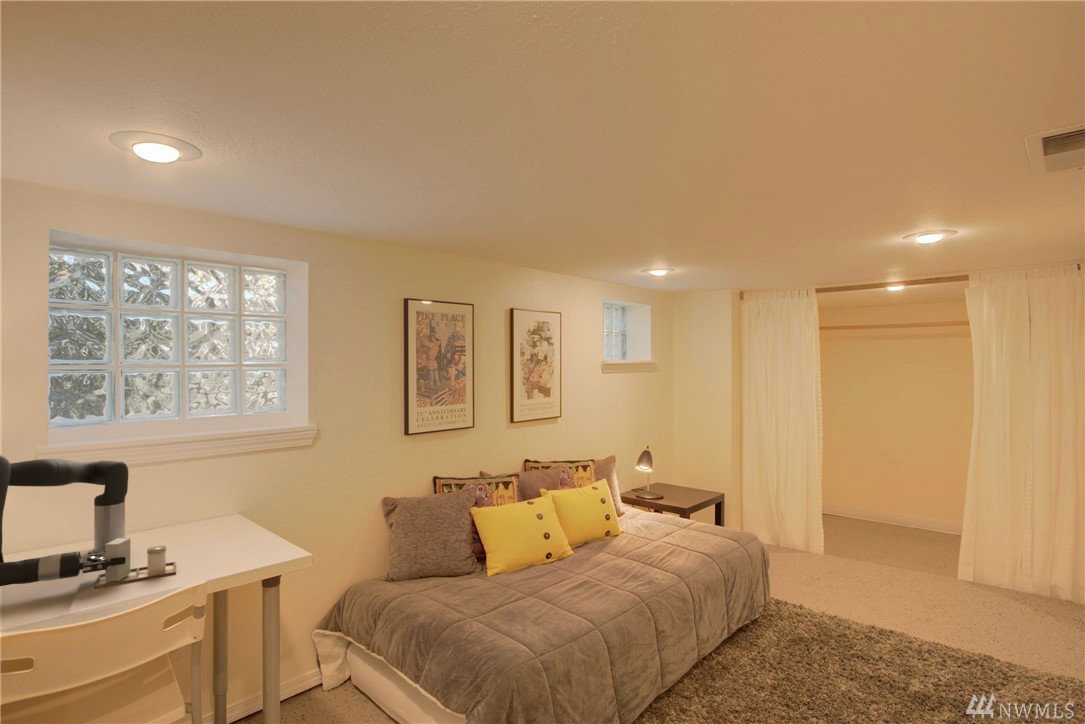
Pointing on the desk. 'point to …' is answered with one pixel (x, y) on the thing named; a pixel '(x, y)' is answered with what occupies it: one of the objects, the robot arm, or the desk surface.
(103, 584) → the organizer
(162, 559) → the cream jar
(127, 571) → the skincare box
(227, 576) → the desk surface
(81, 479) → the robot arm
